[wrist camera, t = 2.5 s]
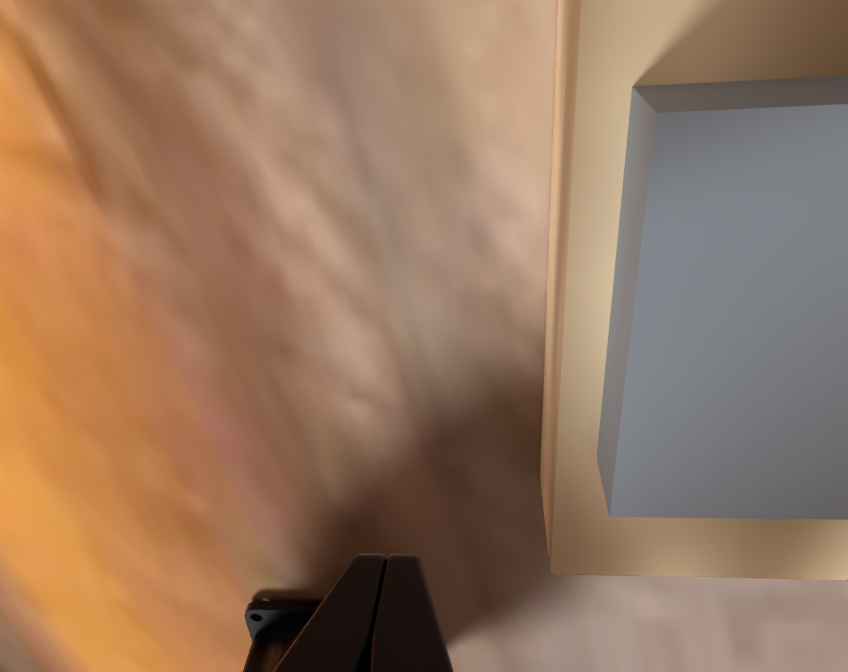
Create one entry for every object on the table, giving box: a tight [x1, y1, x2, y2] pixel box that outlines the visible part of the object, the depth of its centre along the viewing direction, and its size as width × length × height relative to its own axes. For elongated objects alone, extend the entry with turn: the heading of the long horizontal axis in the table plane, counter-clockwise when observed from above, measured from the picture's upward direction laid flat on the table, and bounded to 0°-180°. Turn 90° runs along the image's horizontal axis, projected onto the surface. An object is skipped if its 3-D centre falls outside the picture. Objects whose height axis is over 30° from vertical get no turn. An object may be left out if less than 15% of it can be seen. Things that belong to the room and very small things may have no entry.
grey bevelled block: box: [597, 76, 848, 520], centre depth 13 cm, size 6×9×2 cm, turn 4°
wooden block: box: [540, 0, 848, 580], centre depth 16 cm, size 11×18×4 cm, turn 4°
